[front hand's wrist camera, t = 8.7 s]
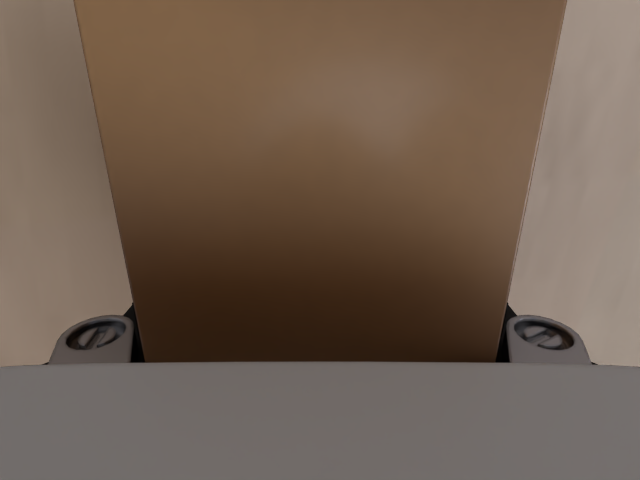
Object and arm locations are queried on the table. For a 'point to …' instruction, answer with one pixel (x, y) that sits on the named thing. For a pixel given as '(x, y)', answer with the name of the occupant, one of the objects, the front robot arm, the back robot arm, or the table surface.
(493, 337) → the bar
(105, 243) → the table surface
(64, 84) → the table surface
